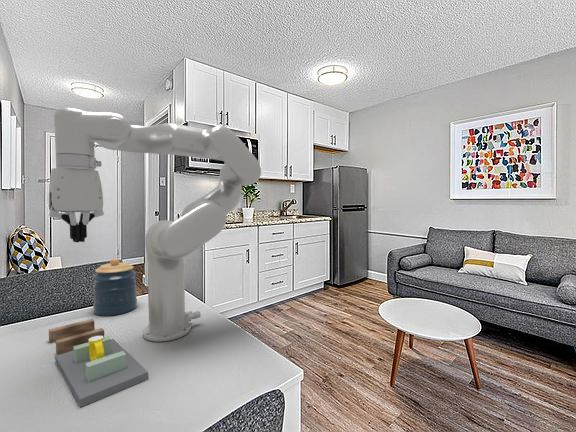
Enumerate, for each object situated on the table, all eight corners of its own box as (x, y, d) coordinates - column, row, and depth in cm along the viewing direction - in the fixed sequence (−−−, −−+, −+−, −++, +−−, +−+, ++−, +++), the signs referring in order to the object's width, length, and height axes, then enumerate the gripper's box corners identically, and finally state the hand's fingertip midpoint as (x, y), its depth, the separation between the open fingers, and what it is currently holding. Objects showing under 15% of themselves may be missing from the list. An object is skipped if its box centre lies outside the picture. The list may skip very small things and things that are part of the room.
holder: (92, 329, 87) (92, 318, 87) (104, 341, 80) (104, 330, 80) (49, 340, 80) (48, 329, 80) (57, 355, 73) (57, 343, 72)
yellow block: (85, 363, 67) (84, 336, 67) (100, 358, 69) (98, 332, 69) (93, 372, 63) (92, 343, 63) (108, 366, 65) (107, 339, 65)
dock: (113, 344, 78) (112, 327, 78) (148, 378, 63) (147, 357, 63) (55, 362, 69) (54, 343, 69) (80, 407, 54) (79, 383, 54)
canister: (143, 308, 104) (142, 257, 103) (101, 320, 94) (99, 263, 93) (128, 300, 112) (127, 253, 111) (88, 309, 103) (86, 258, 102)
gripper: (105, 167, 79) (107, 237, 80) (31, 162, 68) (34, 243, 69) (116, 165, 74) (118, 239, 75) (39, 159, 63) (42, 246, 64)
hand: (78, 241), depth 72 cm, fingers closed
